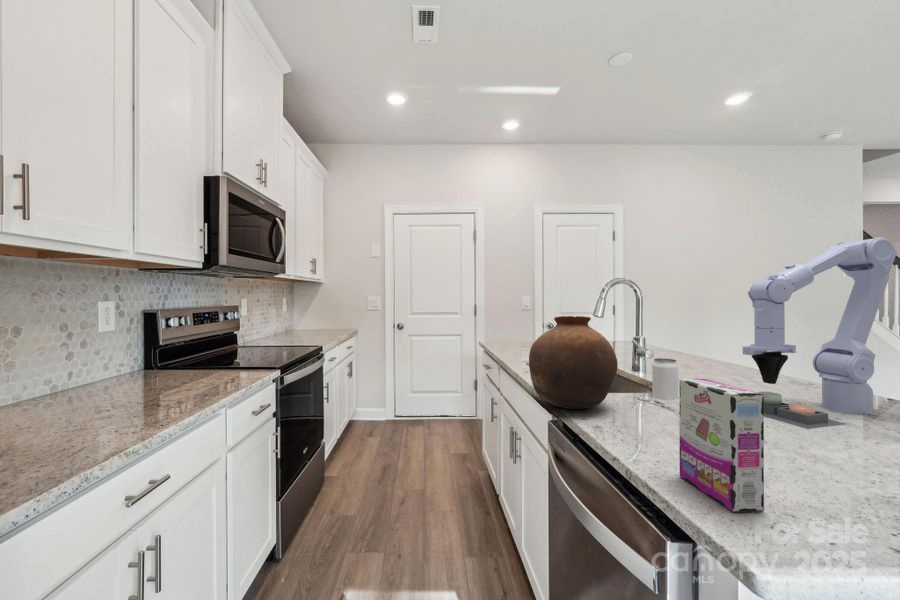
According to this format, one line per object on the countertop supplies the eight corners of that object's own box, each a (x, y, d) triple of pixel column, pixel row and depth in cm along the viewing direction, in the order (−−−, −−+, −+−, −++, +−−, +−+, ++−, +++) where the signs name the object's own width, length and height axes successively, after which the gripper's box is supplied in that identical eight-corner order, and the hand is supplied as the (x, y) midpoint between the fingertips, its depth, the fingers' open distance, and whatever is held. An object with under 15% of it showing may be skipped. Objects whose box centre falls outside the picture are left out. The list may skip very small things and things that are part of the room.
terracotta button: (798, 413, 90) (798, 403, 90) (820, 419, 86) (820, 408, 86) (784, 415, 89) (784, 404, 89) (805, 420, 85) (805, 410, 85)
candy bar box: (767, 512, 52) (766, 393, 52) (733, 514, 52) (732, 394, 52) (706, 474, 64) (705, 377, 64) (677, 476, 63) (677, 377, 63)
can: (682, 405, 104) (682, 362, 104) (656, 404, 106) (656, 361, 106) (673, 399, 111) (673, 358, 111) (649, 398, 112) (649, 357, 112)
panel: (741, 402, 107) (741, 389, 107) (848, 430, 84) (848, 414, 84) (706, 405, 104) (706, 392, 104) (807, 435, 81) (807, 419, 81)
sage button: (767, 400, 97) (767, 391, 97) (786, 405, 92) (786, 395, 92) (753, 401, 96) (753, 392, 96) (772, 406, 91) (772, 396, 91)
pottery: (561, 424, 90) (561, 318, 90) (514, 399, 112) (513, 314, 112) (637, 413, 97) (636, 316, 97) (579, 393, 119) (578, 313, 119)
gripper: (774, 326, 100) (774, 378, 100) (730, 327, 96) (730, 381, 96) (805, 328, 93) (805, 383, 93) (759, 329, 89) (759, 387, 89)
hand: (769, 383), depth 94 cm, fingers closed
